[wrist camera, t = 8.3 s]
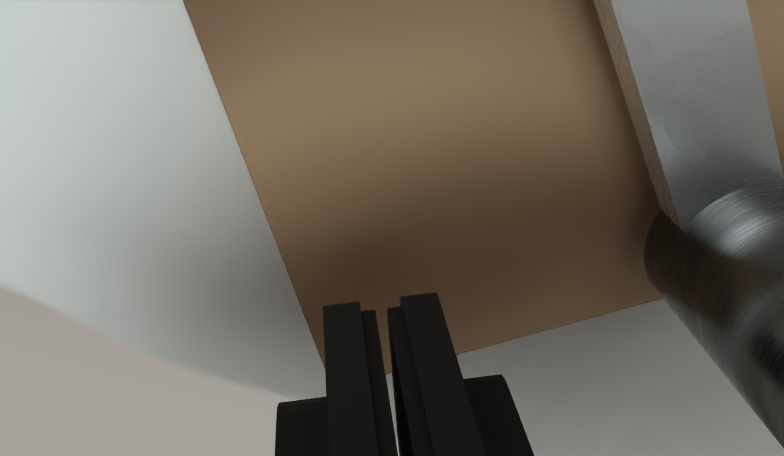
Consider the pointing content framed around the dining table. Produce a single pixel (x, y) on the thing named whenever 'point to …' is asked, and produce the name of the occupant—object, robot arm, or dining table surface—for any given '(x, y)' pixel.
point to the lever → (709, 181)
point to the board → (447, 154)
